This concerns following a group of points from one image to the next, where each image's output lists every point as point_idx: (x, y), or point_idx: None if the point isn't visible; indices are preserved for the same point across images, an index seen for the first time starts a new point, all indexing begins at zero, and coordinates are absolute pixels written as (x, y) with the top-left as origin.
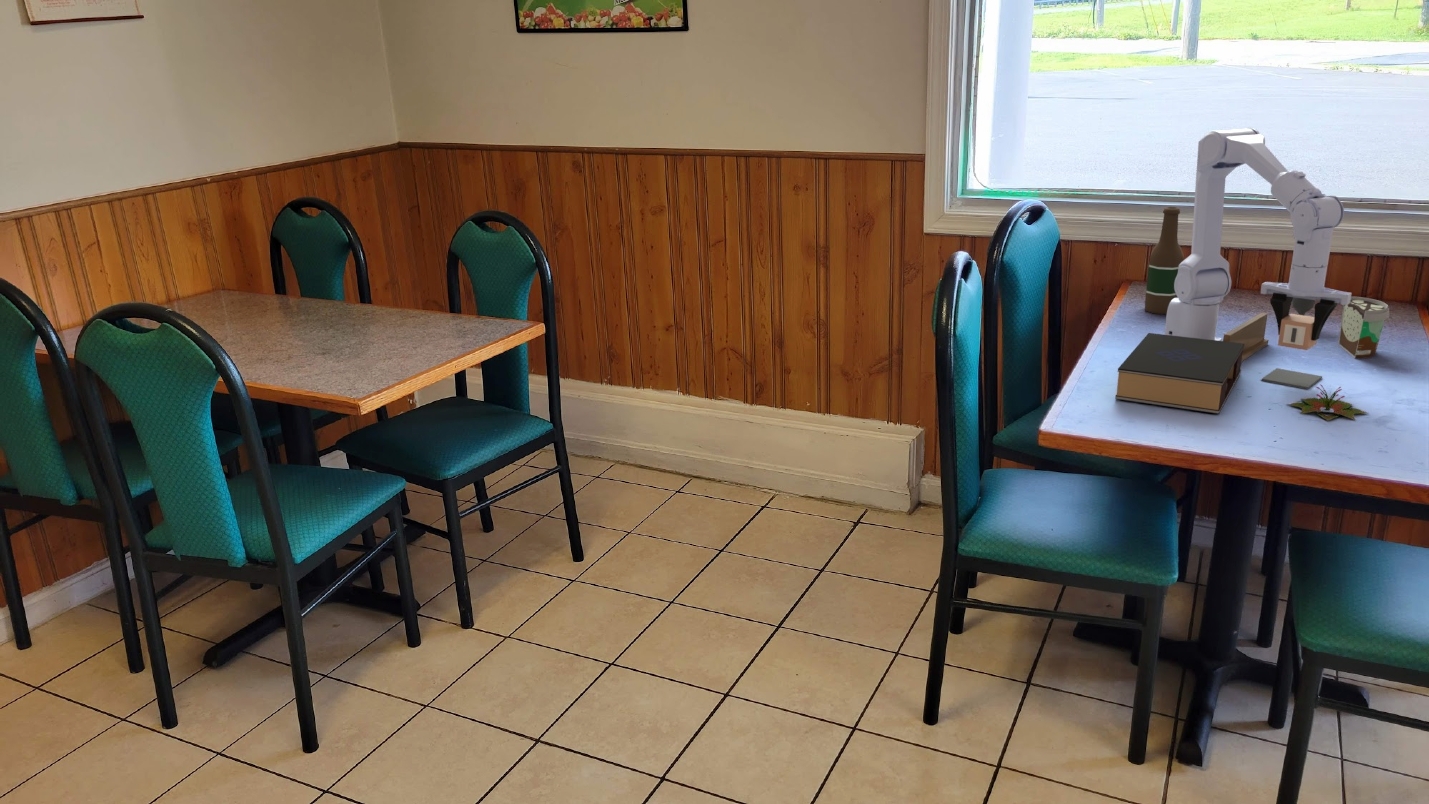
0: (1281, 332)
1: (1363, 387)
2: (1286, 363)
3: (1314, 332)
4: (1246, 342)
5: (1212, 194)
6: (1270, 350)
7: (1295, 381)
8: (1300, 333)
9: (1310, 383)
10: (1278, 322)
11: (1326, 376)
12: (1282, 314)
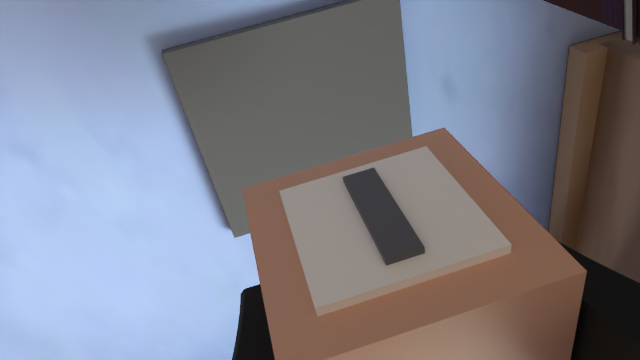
0: (488, 191)
1: (52, 269)
2: None
3: (253, 334)
4: (602, 256)
5: None
6: None
7: (260, 87)
8: (334, 246)
9: (197, 119)
10: (582, 260)
11: (239, 261)
12: (625, 334)
